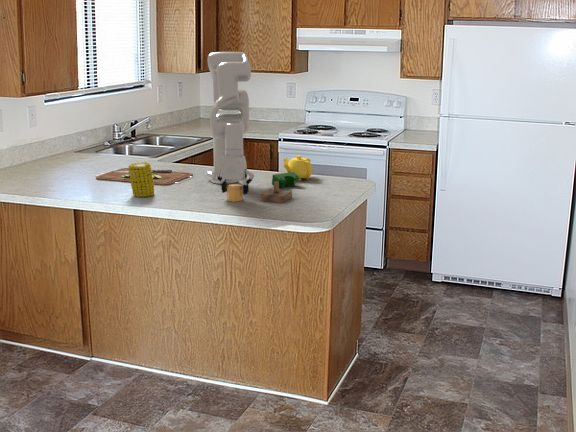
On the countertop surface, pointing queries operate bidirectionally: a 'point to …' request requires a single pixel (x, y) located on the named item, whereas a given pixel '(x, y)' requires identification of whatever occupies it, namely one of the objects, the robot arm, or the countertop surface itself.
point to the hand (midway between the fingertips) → (235, 192)
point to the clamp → (285, 179)
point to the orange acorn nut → (234, 192)
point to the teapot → (299, 167)
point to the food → (141, 179)
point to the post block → (276, 194)
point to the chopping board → (158, 176)
